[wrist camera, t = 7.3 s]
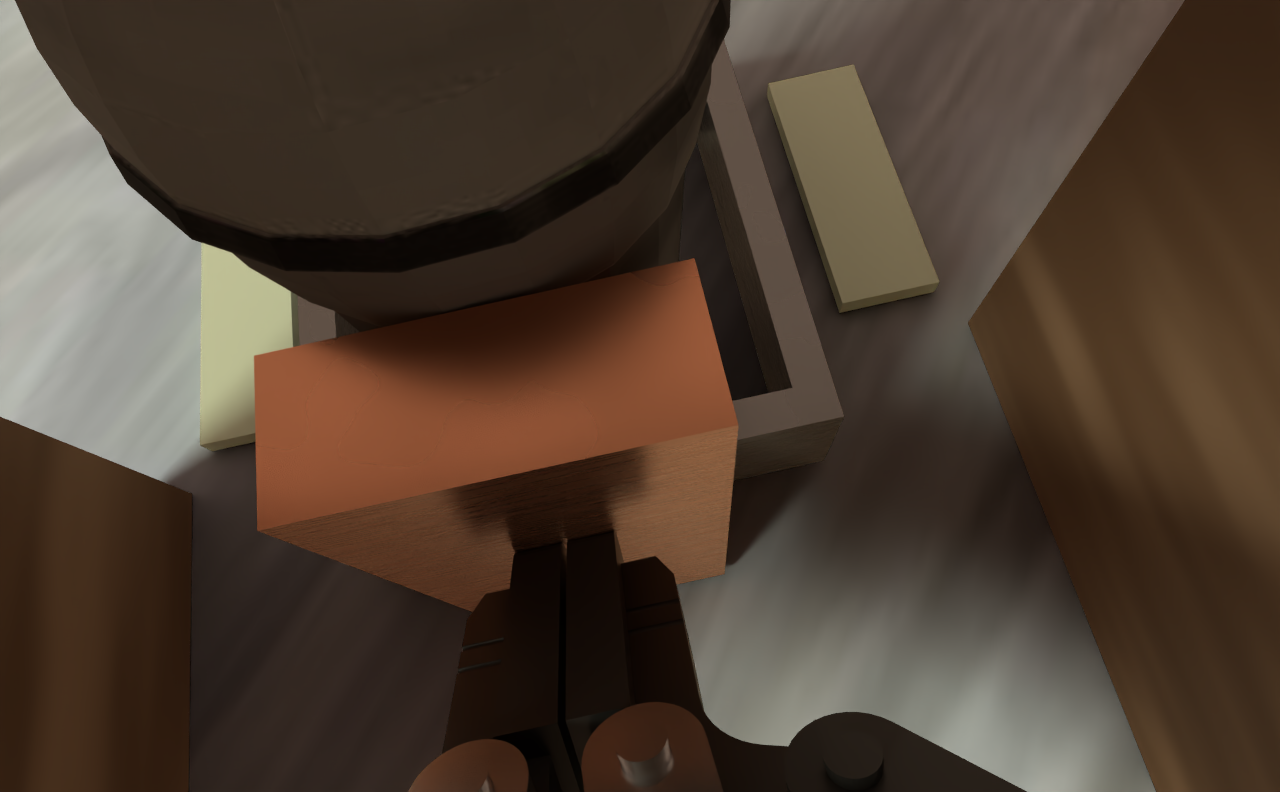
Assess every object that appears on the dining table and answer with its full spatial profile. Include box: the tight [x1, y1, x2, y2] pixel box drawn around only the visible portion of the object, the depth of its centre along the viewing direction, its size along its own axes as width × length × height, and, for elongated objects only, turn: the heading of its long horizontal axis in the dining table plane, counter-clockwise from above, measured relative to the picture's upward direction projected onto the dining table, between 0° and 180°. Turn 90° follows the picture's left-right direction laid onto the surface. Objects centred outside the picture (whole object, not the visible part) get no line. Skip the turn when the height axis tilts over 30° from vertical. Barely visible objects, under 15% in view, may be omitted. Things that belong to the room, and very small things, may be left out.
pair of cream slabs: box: [200, 64, 939, 451], centre depth 21 cm, size 18×7×1 cm, turn 101°
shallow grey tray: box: [254, 40, 844, 612], centre depth 15 cm, size 11×13×10 cm
